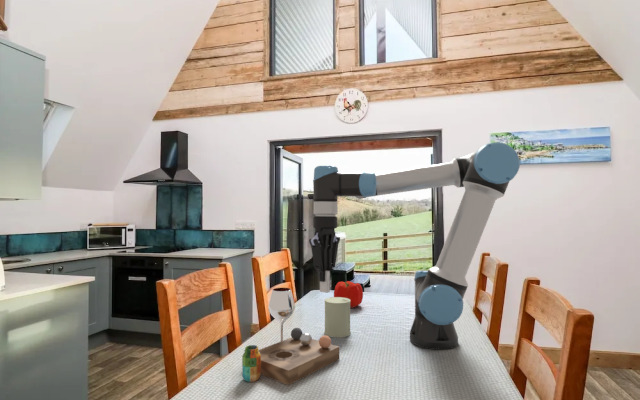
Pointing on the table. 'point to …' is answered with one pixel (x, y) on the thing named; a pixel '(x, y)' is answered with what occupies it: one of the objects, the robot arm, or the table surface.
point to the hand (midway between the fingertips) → (324, 291)
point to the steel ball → (305, 339)
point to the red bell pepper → (349, 292)
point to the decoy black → (296, 333)
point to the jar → (251, 363)
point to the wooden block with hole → (295, 359)
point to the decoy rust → (325, 341)
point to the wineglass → (281, 306)
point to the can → (337, 317)
